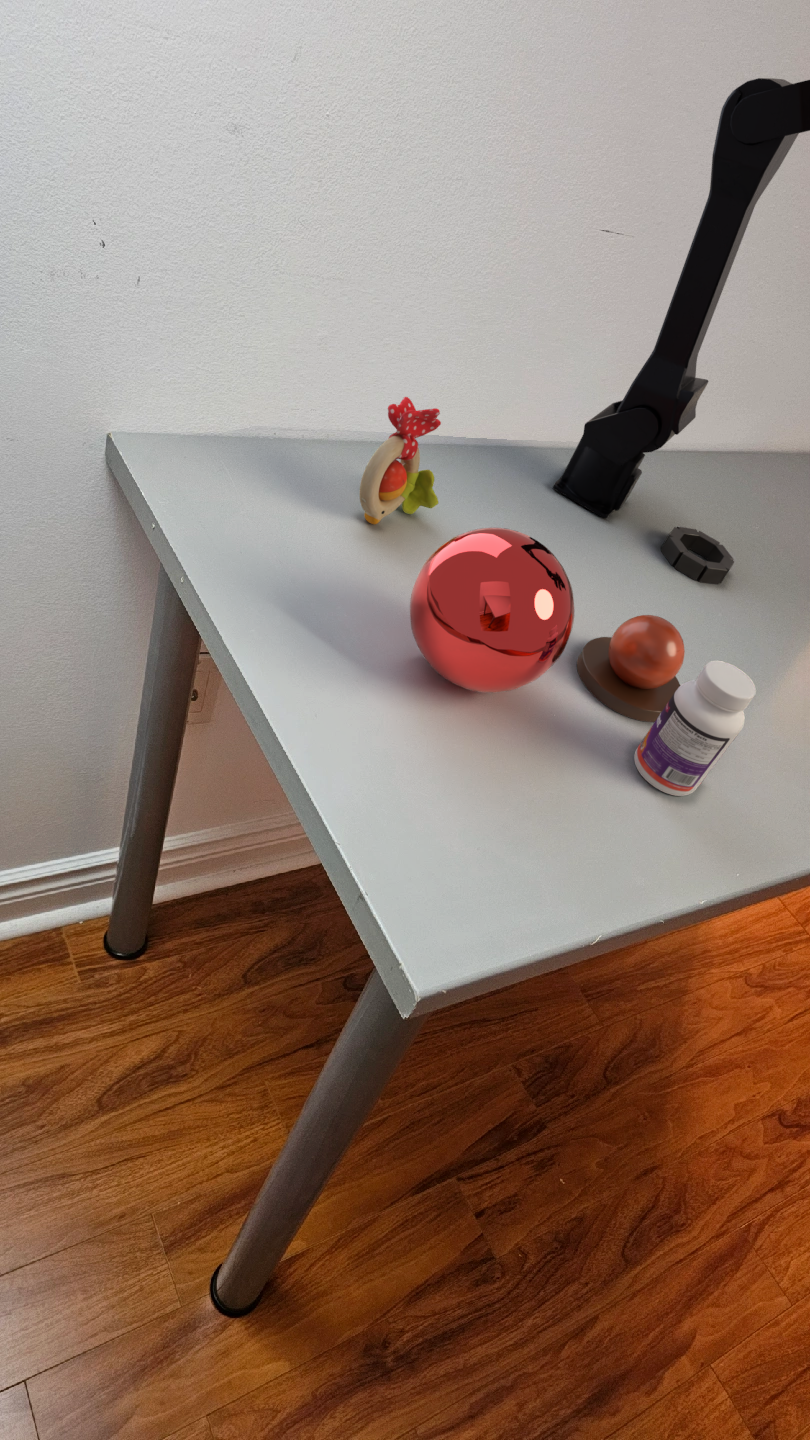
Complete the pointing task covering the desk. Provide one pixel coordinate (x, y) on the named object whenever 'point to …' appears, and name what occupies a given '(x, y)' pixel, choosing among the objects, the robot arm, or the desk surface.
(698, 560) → the black ring
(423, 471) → the bird rattle
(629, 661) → the ball stand
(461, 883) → the desk surface
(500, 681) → the ball
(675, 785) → the pill bottle
